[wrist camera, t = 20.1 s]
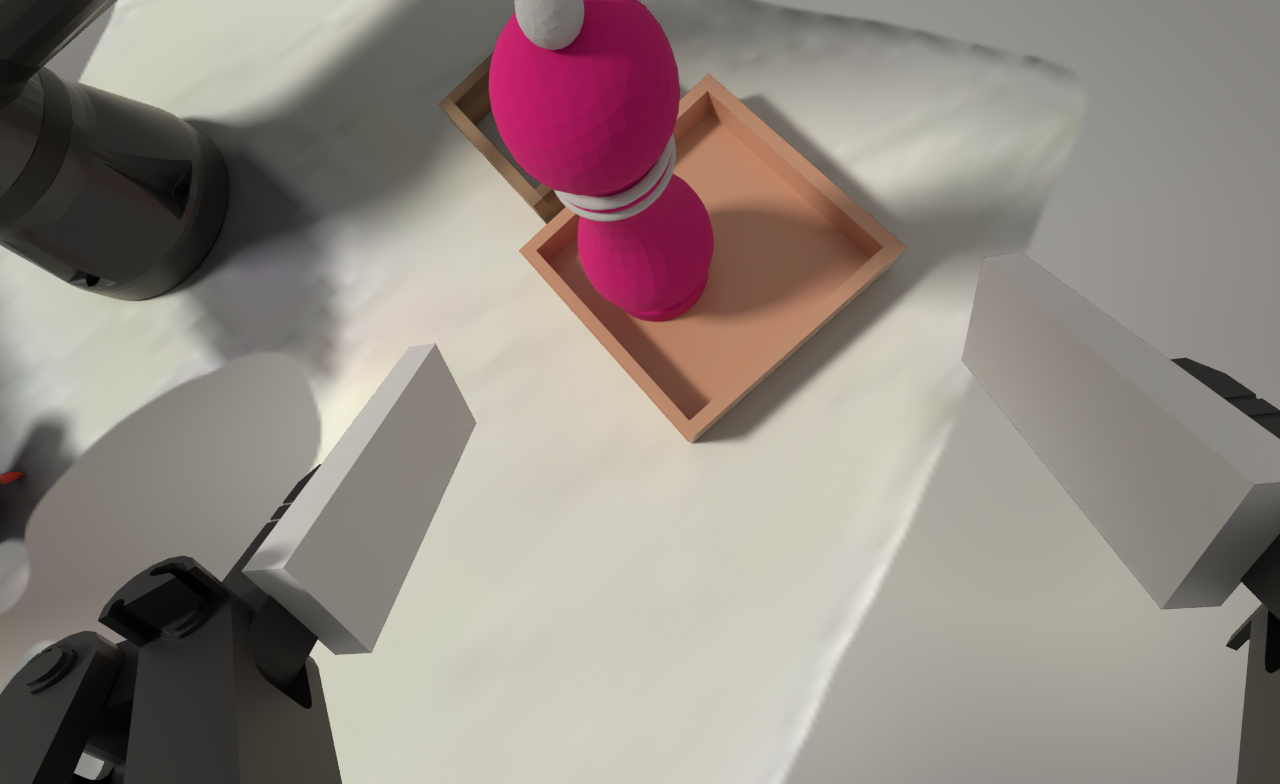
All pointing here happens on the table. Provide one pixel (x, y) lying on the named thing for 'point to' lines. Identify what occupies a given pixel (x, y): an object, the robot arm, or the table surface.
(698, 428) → the terracotta tray
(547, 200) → the small wooden tray
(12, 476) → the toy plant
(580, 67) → the pepper mill
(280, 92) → the table surface
